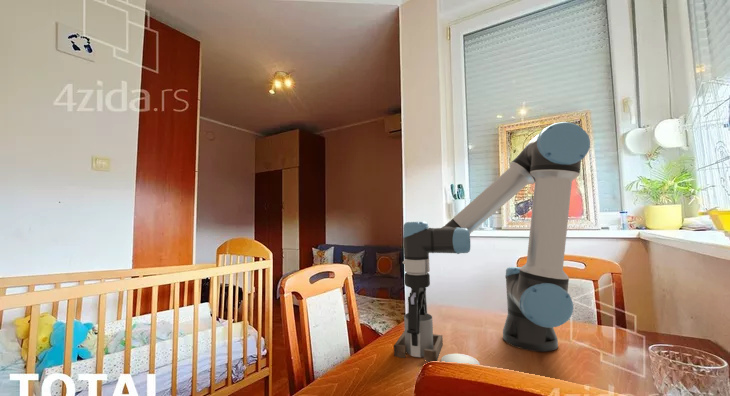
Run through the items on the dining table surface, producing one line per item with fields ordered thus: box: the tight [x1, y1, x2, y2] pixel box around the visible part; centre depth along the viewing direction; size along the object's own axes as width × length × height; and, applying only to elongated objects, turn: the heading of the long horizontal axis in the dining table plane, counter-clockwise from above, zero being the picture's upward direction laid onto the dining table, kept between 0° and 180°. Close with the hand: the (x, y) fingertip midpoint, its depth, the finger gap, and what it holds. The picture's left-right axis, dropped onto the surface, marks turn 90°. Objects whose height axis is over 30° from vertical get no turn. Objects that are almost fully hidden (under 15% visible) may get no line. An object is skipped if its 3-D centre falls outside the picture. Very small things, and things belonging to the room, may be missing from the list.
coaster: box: [440, 353, 481, 365], centre depth 81 cm, size 10×10×1 cm
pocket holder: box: [393, 330, 444, 363], centre depth 89 cm, size 12×12×3 cm
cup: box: [403, 312, 434, 358], centre depth 89 cm, size 8×8×10 cm
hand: (419, 349), depth 89 cm, fingers closed on cup, 8 cm apart
